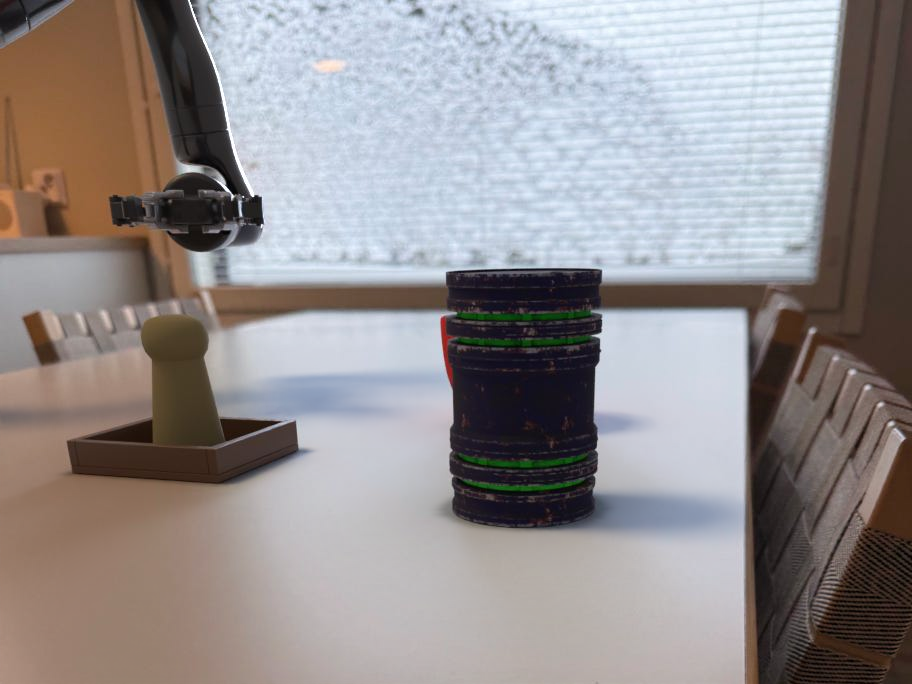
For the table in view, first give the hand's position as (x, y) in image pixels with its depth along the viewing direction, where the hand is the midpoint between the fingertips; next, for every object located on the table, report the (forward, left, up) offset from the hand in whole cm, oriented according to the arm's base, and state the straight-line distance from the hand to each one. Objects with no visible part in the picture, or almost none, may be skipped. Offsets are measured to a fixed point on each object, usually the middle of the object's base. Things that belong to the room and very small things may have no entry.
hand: (180, 208), depth 87 cm
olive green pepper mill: (+8, -14, -19) cm, 25 cm away
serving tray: (+7, -14, -20) cm, 25 cm away
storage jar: (+38, -21, -20) cm, 48 cm away
